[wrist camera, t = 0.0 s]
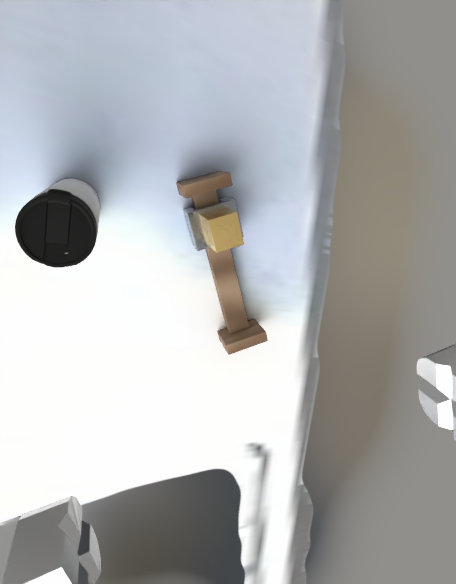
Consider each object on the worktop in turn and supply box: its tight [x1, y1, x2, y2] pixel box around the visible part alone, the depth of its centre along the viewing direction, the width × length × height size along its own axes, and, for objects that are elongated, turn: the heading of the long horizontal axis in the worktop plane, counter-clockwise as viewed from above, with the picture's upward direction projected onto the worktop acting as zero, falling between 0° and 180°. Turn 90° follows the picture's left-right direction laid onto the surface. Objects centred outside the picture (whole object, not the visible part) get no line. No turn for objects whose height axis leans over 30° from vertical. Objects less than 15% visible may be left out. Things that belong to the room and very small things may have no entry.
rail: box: [176, 171, 268, 354], centre depth 56 cm, size 24×6×5 cm, turn 14°
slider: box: [183, 197, 244, 253], centre depth 52 cm, size 5×6×9 cm
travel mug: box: [15, 178, 100, 267], centre depth 42 cm, size 6×7×20 cm
